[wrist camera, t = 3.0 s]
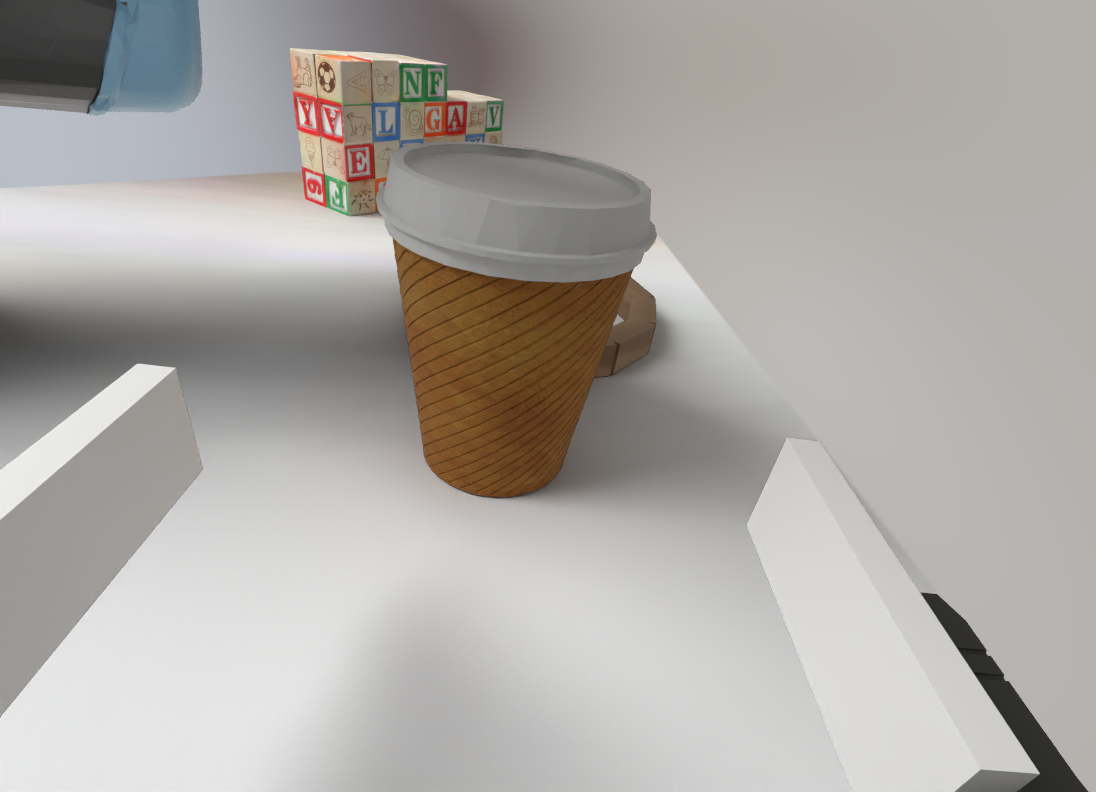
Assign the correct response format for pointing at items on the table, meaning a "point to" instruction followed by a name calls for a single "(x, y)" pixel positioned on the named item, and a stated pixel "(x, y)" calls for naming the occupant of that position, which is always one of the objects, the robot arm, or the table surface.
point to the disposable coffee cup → (508, 298)
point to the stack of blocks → (375, 120)
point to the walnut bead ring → (629, 331)
